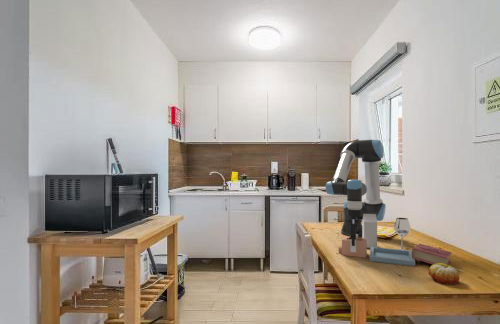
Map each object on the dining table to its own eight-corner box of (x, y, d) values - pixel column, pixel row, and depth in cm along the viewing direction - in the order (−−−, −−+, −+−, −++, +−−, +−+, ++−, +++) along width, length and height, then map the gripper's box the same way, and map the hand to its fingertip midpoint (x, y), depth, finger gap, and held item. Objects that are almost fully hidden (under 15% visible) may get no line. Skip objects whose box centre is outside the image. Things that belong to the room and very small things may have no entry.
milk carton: (377, 248, 182) (377, 215, 182) (364, 247, 183) (364, 214, 183) (374, 245, 189) (375, 213, 189) (362, 244, 190) (362, 212, 190)
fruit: (423, 278, 133) (425, 259, 135) (435, 281, 139) (437, 262, 141) (452, 286, 124) (454, 265, 126) (463, 288, 130) (465, 268, 131)
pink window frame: (337, 254, 169) (337, 239, 170) (339, 250, 177) (339, 236, 177) (365, 257, 164) (366, 241, 164) (366, 253, 172) (366, 238, 172)
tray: (370, 251, 176) (370, 246, 176) (411, 255, 169) (411, 250, 169) (369, 261, 158) (369, 256, 158) (415, 266, 150) (415, 261, 150)
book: (416, 252, 167) (417, 243, 166) (450, 262, 157) (451, 252, 157) (409, 257, 155) (411, 247, 155) (445, 268, 146) (447, 257, 146)
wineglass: (391, 251, 177) (392, 218, 177) (397, 248, 183) (397, 216, 183) (407, 254, 171) (407, 220, 171) (412, 251, 177) (412, 218, 177)
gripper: (349, 205, 183) (349, 242, 183) (344, 211, 160) (344, 253, 160) (363, 206, 180) (362, 244, 180) (360, 212, 157) (360, 255, 157)
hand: (354, 248), depth 170 cm, fingers open, 13 cm apart
